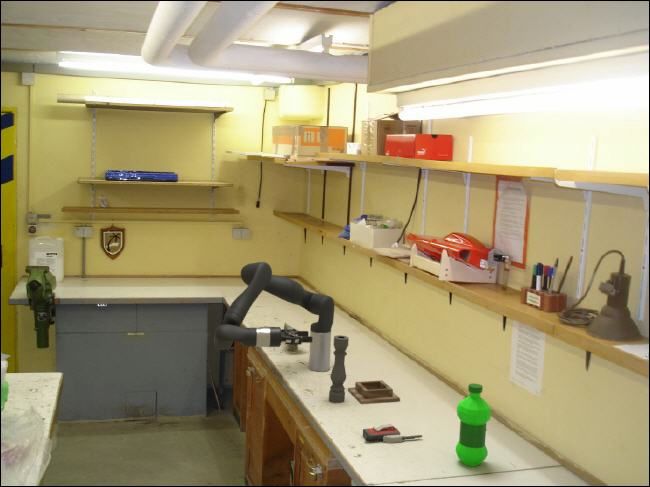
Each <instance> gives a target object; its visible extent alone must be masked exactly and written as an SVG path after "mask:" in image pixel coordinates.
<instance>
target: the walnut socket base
mask: <svg viewBox="0 0 650 487" xmlns="http://www.w3.org/2000/svg"><path fill="white" fill-rule="evenodd" d="M354 382H355V384H354V386H355V387H347V392H349V393H350V394H351V395H352V396H353V398H355V399H356V401H358V402H359V404H361V405H363V404H364V405H365V404H366V405H369V404H380V403H393V402H395V403H396V402H397V403H398V402H401V397H399V396H398V394H396V393H395V392H394V389H393V388H392V387H391V386H389V385H388V383H386V382H385V381H384V380H382V379H381V380H369V381H368V380H367V381H365V380H364V381H354Z"/></svg>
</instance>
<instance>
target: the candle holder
mask: <svg viewBox="0 0 650 487" xmlns="http://www.w3.org/2000/svg"><path fill="white" fill-rule="evenodd" d="M349 338H350V337H348V336H347V335H334V336H333V348H334V351H333V355H334V364H333V367H332V369H331V373H330V376H329V377H330V380H331V382H332V384H331V386H330V387H329V392H328V400H329V402H332V403H337V404H338V403H339V404H340V403H344V402H345V400H346V399H345V398H346V391H345V386H344V383H345V382H346V379H347V374H346V373H347V372H346V366H345V365H346V364H345V362H346V361H345V359H346V356H347V354H348V352H346V351H347V349H348V347H349Z"/></svg>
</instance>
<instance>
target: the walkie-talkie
mask: <svg viewBox="0 0 650 487" xmlns="http://www.w3.org/2000/svg"><path fill="white" fill-rule="evenodd" d="M362 437H363V438H364V440H365V442H367V443H380V442H383V443H388V444H395V443H402V442H403V441H405V440H414V439H418V438H423V435H422V434H417V435H407V436H406V435H405V436H404V435H401V431H400V430H399V429H398V428H396V427H395V426H394V425H393V424H391V423H390V424H381V425H379V426H378V427H376V426H372V428H370V427H369V428H364V429H362Z"/></svg>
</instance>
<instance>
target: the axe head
mask: <svg viewBox="0 0 650 487" xmlns="http://www.w3.org/2000/svg"><path fill="white" fill-rule="evenodd" d="M283 329H296V328H295V327H292V326H290V325H289V324H287V323H286V322H284V325H283ZM296 330H298V332H299V331H300V330H299V329H296ZM297 340H298V339H297ZM298 349H299V345H287V350H288V351H290V352H291V351H292V352H293V351H298Z"/></svg>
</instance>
